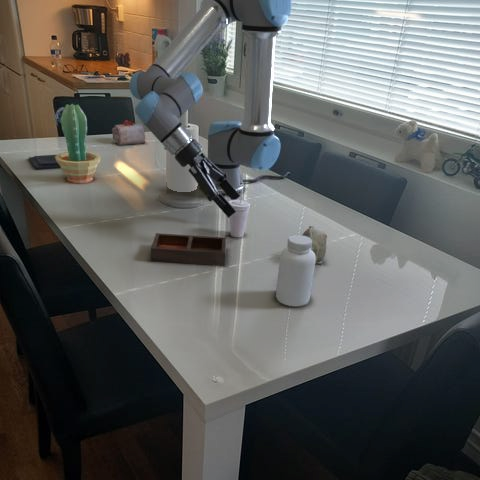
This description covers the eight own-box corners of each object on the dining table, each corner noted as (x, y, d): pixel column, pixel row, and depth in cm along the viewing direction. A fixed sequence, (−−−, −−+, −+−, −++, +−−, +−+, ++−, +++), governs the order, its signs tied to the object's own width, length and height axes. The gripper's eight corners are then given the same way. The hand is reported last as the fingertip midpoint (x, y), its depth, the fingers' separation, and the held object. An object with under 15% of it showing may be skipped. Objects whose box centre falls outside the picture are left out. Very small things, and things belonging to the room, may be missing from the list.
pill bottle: (272, 290, 120) (279, 231, 112) (305, 291, 121) (314, 232, 113) (277, 307, 113) (285, 246, 105) (312, 308, 114) (322, 247, 106)
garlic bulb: (307, 273, 134) (305, 245, 127) (291, 256, 140) (288, 228, 132) (336, 260, 136) (337, 231, 129) (319, 243, 142) (319, 214, 134)
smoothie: (245, 240, 144) (249, 193, 137) (223, 237, 145) (226, 189, 138) (249, 232, 150) (253, 186, 142) (228, 229, 151) (231, 183, 143)
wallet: (34, 164, 185) (28, 154, 197) (34, 169, 186) (28, 158, 198) (88, 161, 194) (79, 151, 205) (89, 166, 195) (80, 156, 206)
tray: (156, 245, 137) (155, 233, 135) (225, 249, 138) (226, 237, 136) (150, 261, 129) (150, 248, 127) (224, 265, 130) (225, 252, 128)
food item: (118, 146, 224) (116, 123, 218) (111, 142, 229) (110, 119, 224) (146, 144, 230) (146, 121, 225) (139, 140, 236) (138, 118, 230)
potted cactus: (88, 170, 190) (81, 99, 177) (110, 181, 181) (105, 107, 168) (49, 177, 180) (39, 102, 167) (71, 188, 172) (62, 110, 158)
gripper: (181, 145, 147) (229, 200, 155) (163, 168, 126) (219, 230, 134) (200, 128, 144) (247, 185, 152) (184, 148, 123) (240, 213, 131)
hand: (234, 206), depth 143 cm, fingers open, 13 cm apart
